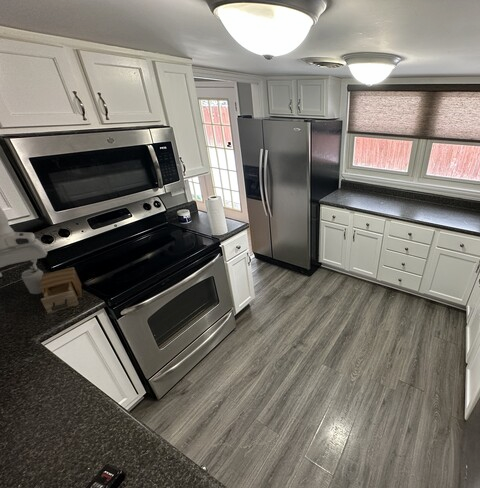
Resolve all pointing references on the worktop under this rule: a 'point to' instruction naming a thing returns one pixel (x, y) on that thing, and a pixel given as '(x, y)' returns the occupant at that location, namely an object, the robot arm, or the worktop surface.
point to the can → (32, 280)
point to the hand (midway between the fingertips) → (17, 273)
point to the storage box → (61, 280)
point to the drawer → (59, 297)
